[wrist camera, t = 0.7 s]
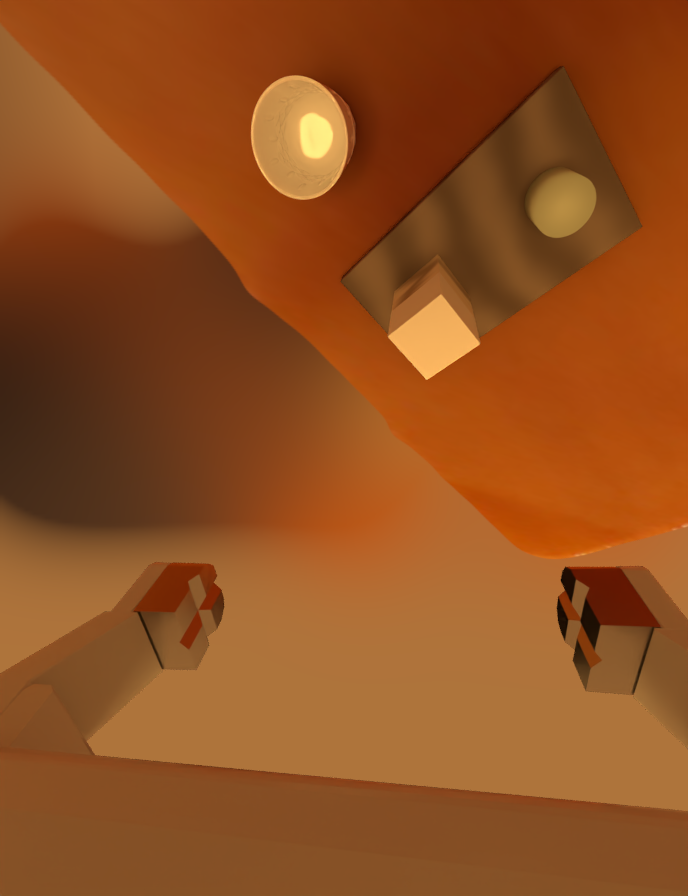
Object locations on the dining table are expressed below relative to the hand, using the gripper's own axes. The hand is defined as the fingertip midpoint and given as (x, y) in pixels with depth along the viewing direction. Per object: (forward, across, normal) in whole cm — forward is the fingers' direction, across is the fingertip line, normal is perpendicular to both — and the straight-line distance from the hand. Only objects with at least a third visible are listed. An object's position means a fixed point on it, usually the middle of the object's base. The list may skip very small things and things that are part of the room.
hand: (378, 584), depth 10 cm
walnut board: (+44, -9, -6) cm, 45 cm away
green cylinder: (+41, -15, -10) cm, 45 cm away
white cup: (+42, +6, -18) cm, 46 cm away
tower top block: (+37, -4, -1) cm, 38 cm away
